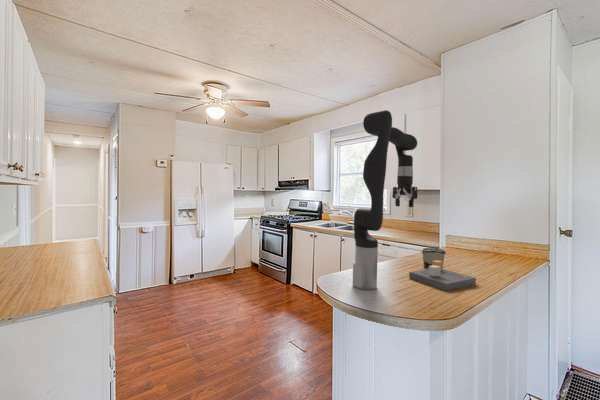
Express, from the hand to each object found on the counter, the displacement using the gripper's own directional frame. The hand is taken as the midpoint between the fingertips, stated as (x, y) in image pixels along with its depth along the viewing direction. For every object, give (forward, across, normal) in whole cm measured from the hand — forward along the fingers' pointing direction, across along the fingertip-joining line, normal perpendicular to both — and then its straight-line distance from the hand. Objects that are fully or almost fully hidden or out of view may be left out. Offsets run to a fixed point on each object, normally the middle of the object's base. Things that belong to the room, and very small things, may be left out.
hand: (404, 206), depth 144 cm
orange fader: (+30, +15, +7) cm, 34 cm away
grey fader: (+30, +21, -3) cm, 36 cm away
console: (+33, +21, +2) cm, 39 cm away
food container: (+33, +2, +20) cm, 39 cm away
